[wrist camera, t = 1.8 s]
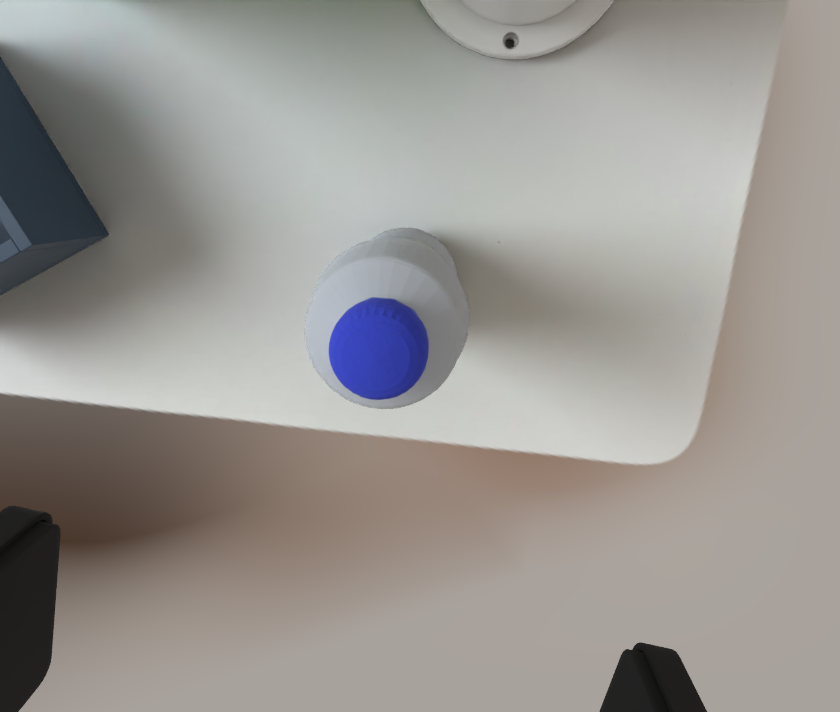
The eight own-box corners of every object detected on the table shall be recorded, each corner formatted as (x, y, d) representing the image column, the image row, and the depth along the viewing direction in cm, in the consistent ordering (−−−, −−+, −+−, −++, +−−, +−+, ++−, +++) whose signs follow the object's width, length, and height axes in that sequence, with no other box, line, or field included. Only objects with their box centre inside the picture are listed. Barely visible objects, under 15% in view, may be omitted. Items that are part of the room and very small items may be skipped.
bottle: (469, 232, 38) (497, 274, 19) (449, 336, 40) (456, 471, 21) (362, 213, 38) (280, 236, 19) (347, 318, 40) (258, 437, 20)
